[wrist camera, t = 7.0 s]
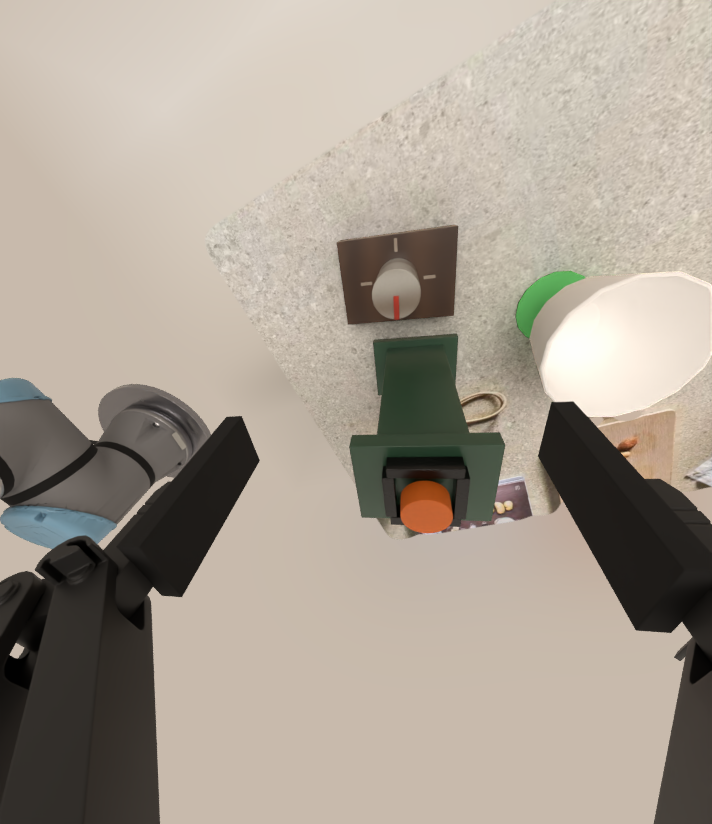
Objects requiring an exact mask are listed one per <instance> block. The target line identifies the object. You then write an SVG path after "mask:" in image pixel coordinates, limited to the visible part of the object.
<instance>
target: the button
mask: <svg viewBox="0 0 712 824" xmlns="http://www.w3.org/2000/svg"><path fill="white" fill-rule="evenodd" d="M400 517H401V520H402V522H403V523H404V525H405V526H407V527H408V528H409V529H411V530H414V531H417V532H421V533H435V532H439V531H442V530H444V529H446V528H447V527H448V526H449V525H450V524H451V522H452V520H453V513H452V507H451V500H450V495H449V492H448V491H447V489H446V488H445V487H444V486H442V485H441V484H439V483H436V482H433V481H416V482H413V483H411V484H409V485H407V486H406V487H405V488H404V489H403V490H402V492H401V502H400Z"/></svg>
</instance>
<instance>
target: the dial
mask: <svg viewBox="0 0 712 824" xmlns="http://www.w3.org/2000/svg"><path fill="white" fill-rule="evenodd" d="M420 297H421V288H420V283H419V279H418V274H417V271H416V269H415V267H414V265H413V264H412V263H411V262H409V261H408V260H405V259H402V258H395V259H392V260H389V261H388V262H386V263H385V264H384V265H383V266H382V268H381V269H380V271H379V274H378V276H377V278H376V281H375V283H374V286H373V290H372V300H373V304H374V306H375V308H376V309H377V311H378V312H379V313H380V314H381V315H383V316H385V317H387V318H390V319H394V320H399V319H401V318H404V317H406V316H408V315H410V314H411V313H412V312H413V311H414V310H415V309H416V307H417V306H418V304H419V301H420Z"/></svg>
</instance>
